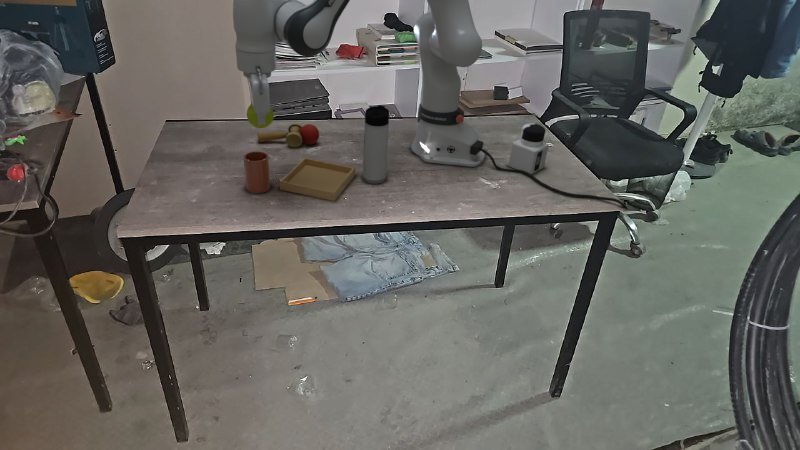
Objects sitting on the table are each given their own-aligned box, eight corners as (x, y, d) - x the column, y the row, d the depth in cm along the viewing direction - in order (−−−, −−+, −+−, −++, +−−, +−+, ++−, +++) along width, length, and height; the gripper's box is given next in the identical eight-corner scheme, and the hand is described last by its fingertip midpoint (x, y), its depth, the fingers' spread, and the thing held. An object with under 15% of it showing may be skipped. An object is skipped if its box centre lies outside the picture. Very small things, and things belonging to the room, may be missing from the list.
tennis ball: (279, 124, 139) (277, 99, 136) (266, 134, 134) (265, 108, 130) (256, 120, 140) (253, 95, 137) (242, 129, 135) (240, 104, 132)
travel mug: (389, 175, 156) (393, 107, 145) (380, 186, 151) (384, 116, 140) (368, 171, 158) (370, 103, 147) (359, 181, 152) (361, 111, 142)
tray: (355, 175, 155) (355, 167, 154) (334, 201, 143) (334, 192, 141) (304, 165, 158) (304, 157, 157) (279, 189, 146) (279, 181, 145)
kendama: (258, 152, 166) (319, 146, 166) (254, 131, 163) (316, 125, 164) (262, 145, 173) (321, 139, 173) (259, 125, 171) (318, 119, 171)
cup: (274, 184, 148) (272, 153, 143) (263, 195, 143) (260, 163, 138) (253, 180, 149) (251, 149, 144) (242, 190, 144) (239, 159, 139)
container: (543, 167, 167) (553, 127, 160) (530, 175, 162) (539, 134, 155) (521, 158, 171) (530, 118, 164) (507, 166, 166) (515, 125, 159)
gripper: (275, 74, 121) (277, 134, 128) (266, 48, 137) (269, 102, 145) (244, 75, 119) (249, 135, 127) (239, 48, 136) (244, 103, 143)
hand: (260, 117), depth 136 cm, fingers closed on tennis ball, 6 cm apart
